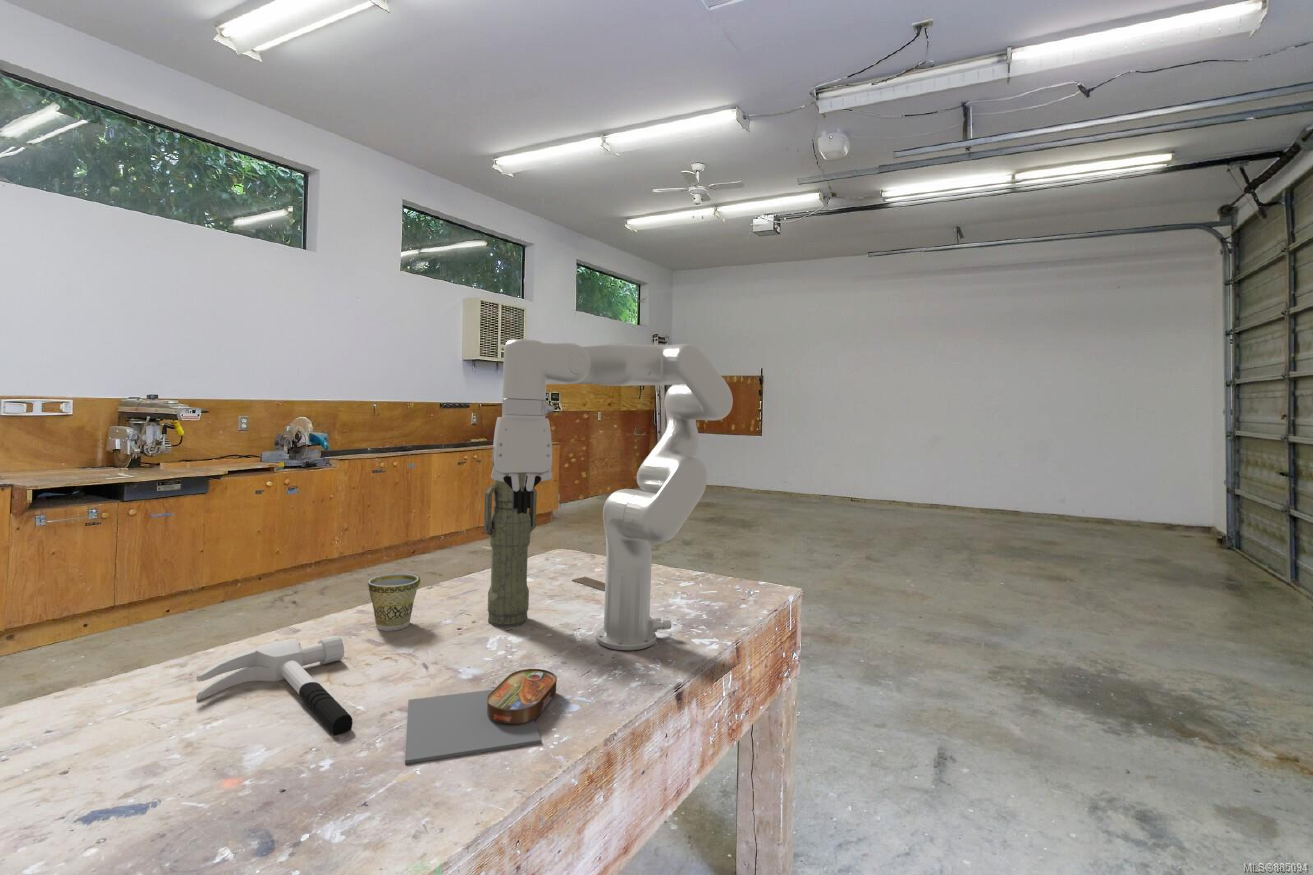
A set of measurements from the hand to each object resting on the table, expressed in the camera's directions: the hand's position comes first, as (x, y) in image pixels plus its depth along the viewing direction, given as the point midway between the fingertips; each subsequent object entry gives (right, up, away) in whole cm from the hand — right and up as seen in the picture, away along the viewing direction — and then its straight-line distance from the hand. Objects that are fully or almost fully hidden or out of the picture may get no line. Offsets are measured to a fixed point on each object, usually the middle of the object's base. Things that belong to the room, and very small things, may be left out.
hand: (521, 512), depth 110 cm
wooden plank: (+8, -28, +58) cm, 65 cm away
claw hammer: (-33, -29, -12) cm, 46 cm away
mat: (-4, -30, -17) cm, 34 cm away
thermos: (-9, -28, +28) cm, 41 cm away
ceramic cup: (-32, -27, +24) cm, 48 cm away
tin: (+7, -28, -12) cm, 32 cm away
